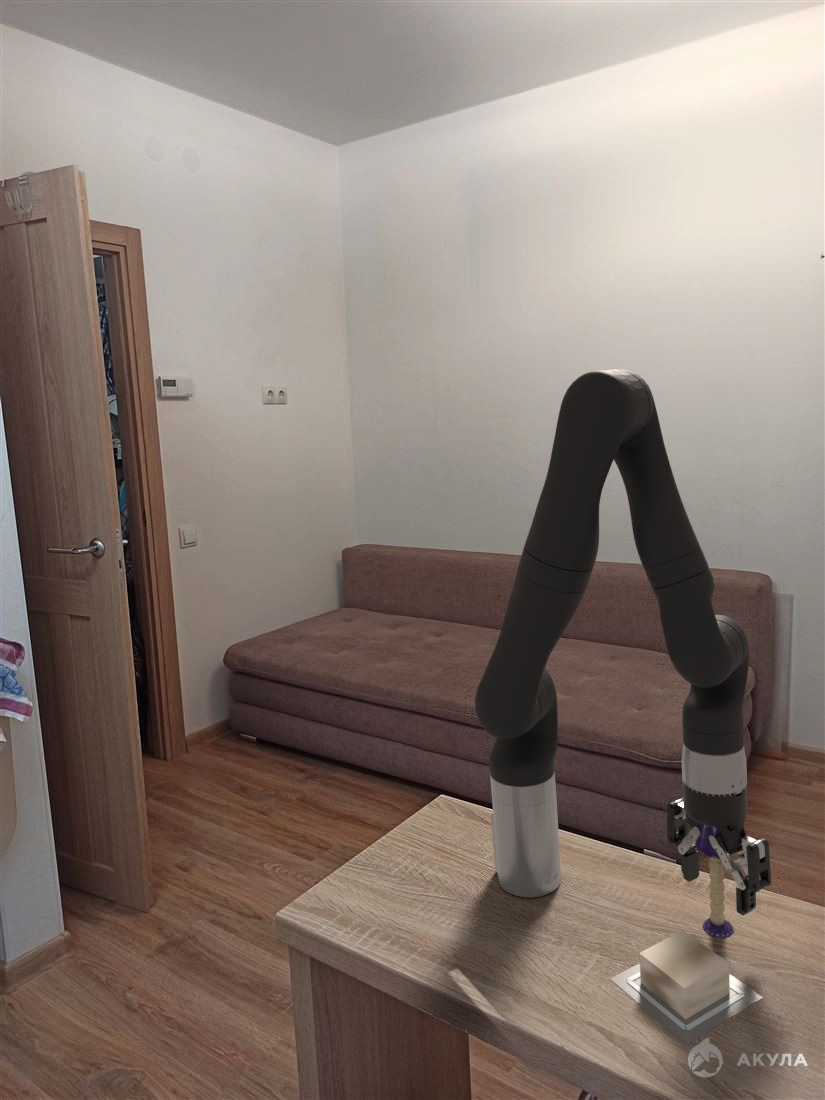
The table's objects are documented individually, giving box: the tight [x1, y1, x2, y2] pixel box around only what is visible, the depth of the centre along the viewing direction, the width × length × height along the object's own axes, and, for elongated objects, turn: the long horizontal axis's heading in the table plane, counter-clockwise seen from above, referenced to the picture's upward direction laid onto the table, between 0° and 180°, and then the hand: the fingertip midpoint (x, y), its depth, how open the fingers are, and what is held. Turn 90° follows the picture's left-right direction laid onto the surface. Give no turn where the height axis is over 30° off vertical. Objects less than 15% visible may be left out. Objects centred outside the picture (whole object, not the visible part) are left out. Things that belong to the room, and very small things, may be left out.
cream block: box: [639, 930, 730, 1019], centre depth 96 cm, size 7×7×4 cm
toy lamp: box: [696, 823, 735, 939], centre depth 104 cm, size 5×5×17 cm
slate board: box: [609, 962, 764, 1045], centre depth 96 cm, size 12×12×1 cm
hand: (717, 894), depth 104 cm, fingers open, 8 cm apart
